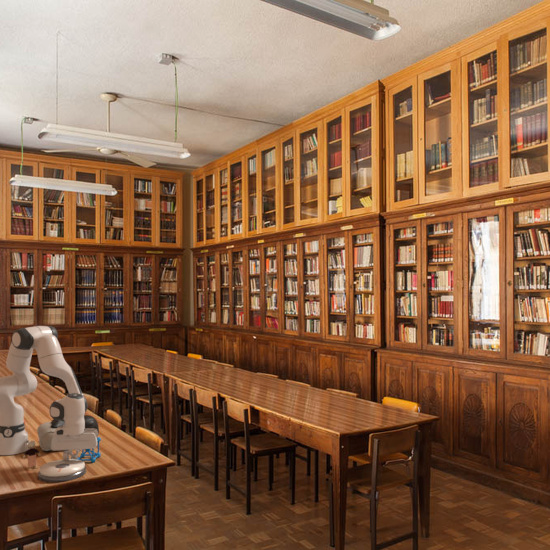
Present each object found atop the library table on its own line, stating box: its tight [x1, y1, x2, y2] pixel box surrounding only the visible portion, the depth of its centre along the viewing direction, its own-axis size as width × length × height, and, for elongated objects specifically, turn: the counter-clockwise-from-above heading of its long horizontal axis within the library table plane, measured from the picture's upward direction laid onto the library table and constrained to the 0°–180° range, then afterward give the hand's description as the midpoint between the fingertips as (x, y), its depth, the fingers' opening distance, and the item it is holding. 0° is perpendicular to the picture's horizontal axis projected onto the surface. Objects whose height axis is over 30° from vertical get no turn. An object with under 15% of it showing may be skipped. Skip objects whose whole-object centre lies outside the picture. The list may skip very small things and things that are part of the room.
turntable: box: [38, 450, 86, 477], centre depth 237 cm, size 19×19×6 cm
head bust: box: [36, 414, 100, 453], centre depth 279 cm, size 22×17×30 cm
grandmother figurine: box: [22, 440, 42, 471], centre depth 245 cm, size 8×4×13 cm, turn 139°
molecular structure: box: [75, 436, 102, 464], centre depth 257 cm, size 10×10×10 cm
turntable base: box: [37, 465, 87, 483], centre depth 237 cm, size 20×20×2 cm
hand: (74, 458), depth 245 cm, fingers closed
